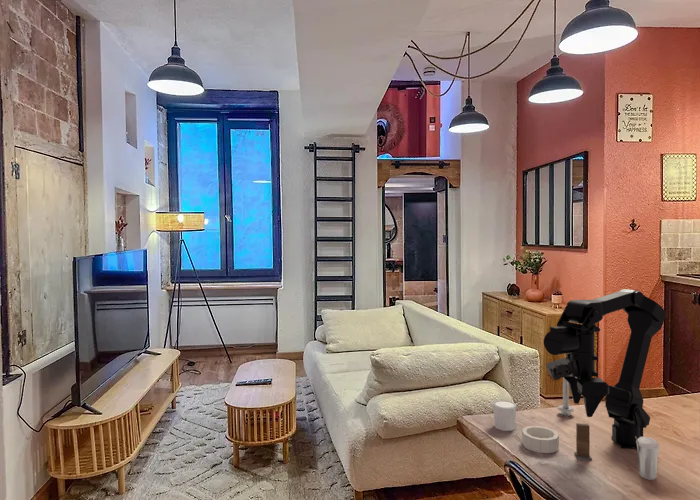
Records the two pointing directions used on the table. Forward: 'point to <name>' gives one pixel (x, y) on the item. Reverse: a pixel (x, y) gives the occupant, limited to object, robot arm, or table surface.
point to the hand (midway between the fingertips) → (582, 409)
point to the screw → (565, 400)
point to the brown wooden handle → (582, 442)
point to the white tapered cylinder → (504, 415)
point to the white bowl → (540, 439)
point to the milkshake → (647, 457)
